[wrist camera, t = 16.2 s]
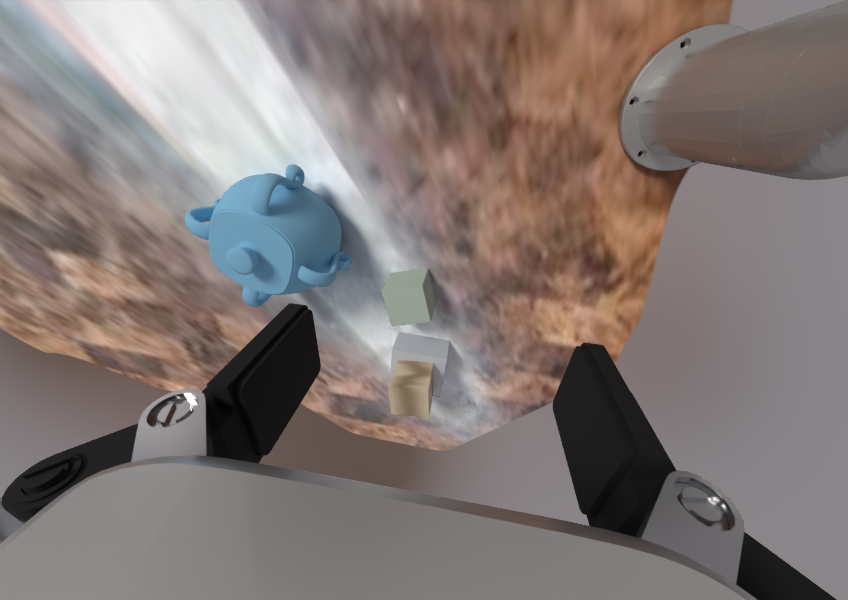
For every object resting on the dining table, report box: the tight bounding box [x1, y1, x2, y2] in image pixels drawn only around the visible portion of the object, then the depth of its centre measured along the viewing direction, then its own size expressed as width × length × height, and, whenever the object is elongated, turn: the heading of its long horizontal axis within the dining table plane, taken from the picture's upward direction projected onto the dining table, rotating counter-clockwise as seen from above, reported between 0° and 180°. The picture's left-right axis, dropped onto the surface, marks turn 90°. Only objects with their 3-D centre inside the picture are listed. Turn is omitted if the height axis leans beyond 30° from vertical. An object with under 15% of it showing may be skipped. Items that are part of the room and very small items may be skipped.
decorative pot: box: [185, 165, 352, 307], centre depth 40 cm, size 16×16×14 cm
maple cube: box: [388, 360, 434, 418], centre depth 49 cm, size 6×6×6 cm
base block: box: [390, 332, 449, 397], centre depth 53 cm, size 9×9×5 cm
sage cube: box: [381, 268, 435, 326], centre depth 46 cm, size 6×6×6 cm
